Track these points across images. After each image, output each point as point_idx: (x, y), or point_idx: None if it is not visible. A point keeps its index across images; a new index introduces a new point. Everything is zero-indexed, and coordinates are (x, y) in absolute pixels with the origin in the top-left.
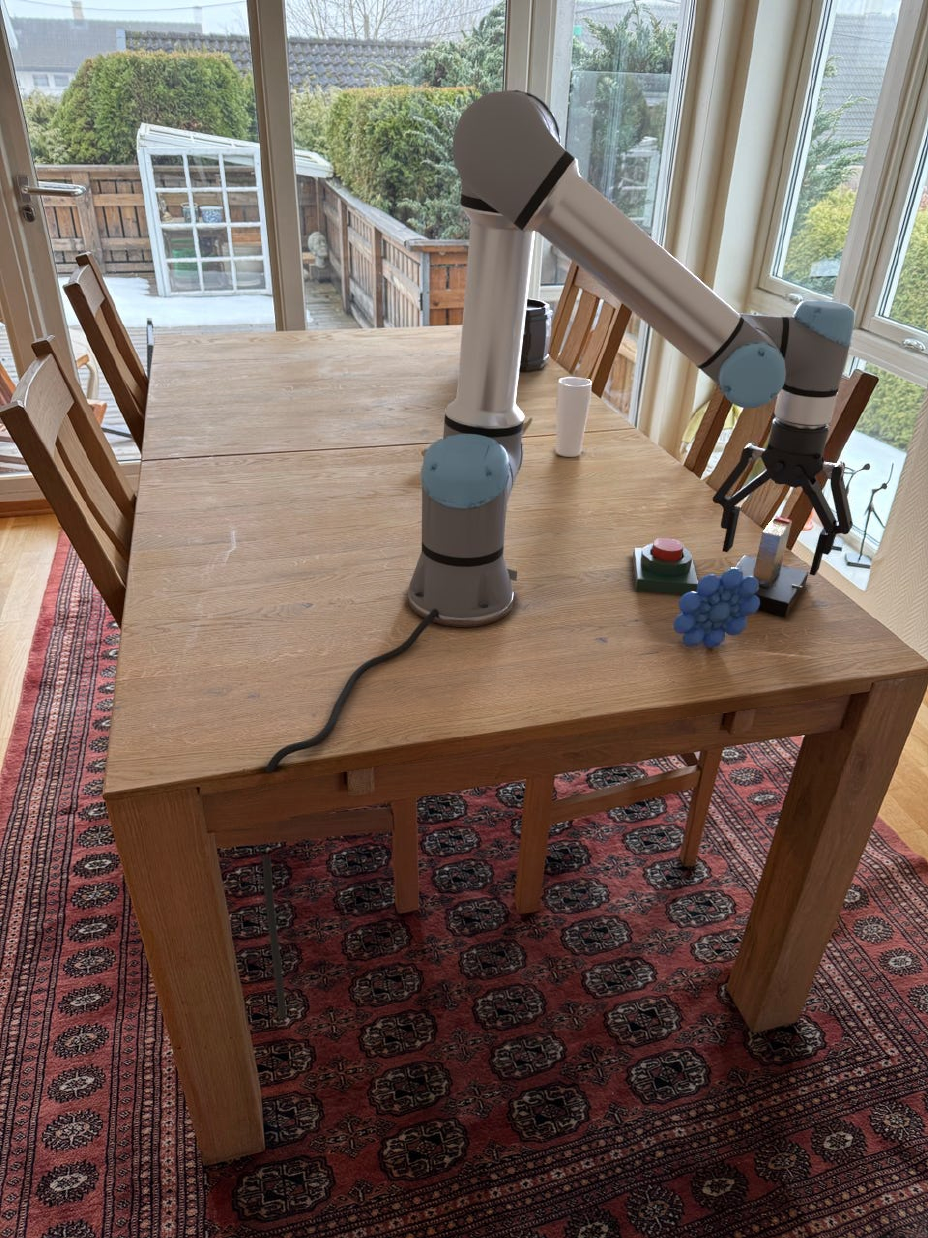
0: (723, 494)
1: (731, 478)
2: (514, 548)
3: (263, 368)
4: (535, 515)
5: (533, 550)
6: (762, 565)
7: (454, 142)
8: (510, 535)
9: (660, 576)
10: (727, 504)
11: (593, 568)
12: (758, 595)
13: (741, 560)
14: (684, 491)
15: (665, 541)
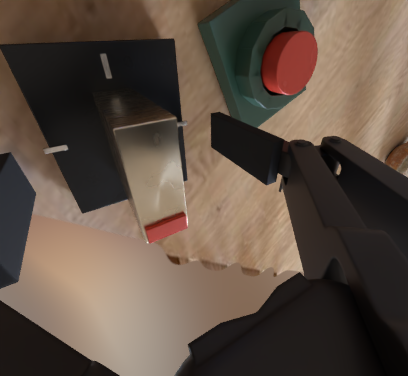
0: (342, 151)
1: (400, 180)
2: (399, 5)
3: None
4: (369, 109)
5: (383, 16)
6: (125, 97)
7: None
8: (396, 41)
9: (267, 6)
10: (306, 146)
11: (330, 14)
12: (88, 42)
13: (184, 161)
14: (270, 248)
15: (302, 74)
